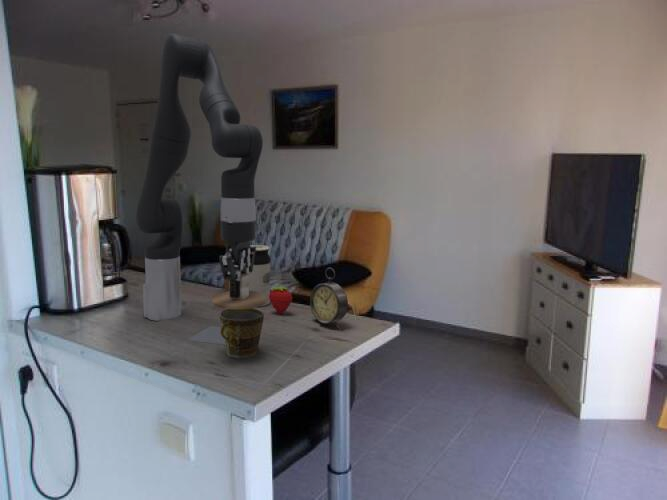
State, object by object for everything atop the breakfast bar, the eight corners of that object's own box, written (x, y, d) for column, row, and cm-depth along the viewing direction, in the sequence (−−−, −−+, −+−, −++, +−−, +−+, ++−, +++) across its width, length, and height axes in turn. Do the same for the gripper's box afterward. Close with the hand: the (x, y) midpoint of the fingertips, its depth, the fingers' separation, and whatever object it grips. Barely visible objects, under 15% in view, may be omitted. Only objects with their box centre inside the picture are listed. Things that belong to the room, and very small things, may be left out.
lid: (201, 306, 109) (200, 279, 108) (227, 292, 120) (227, 267, 119) (252, 311, 106) (252, 283, 105) (274, 297, 117) (274, 272, 116)
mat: (187, 342, 124) (187, 339, 124) (210, 328, 134) (210, 326, 134) (228, 347, 121) (228, 345, 121) (248, 333, 131) (248, 330, 131)
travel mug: (238, 303, 157) (238, 246, 154) (258, 298, 163) (258, 243, 160) (255, 308, 152) (255, 250, 149) (275, 303, 158) (275, 247, 155)
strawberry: (282, 319, 143) (282, 285, 141) (264, 314, 148) (264, 280, 146) (296, 315, 147) (297, 282, 146) (278, 309, 152) (279, 277, 150)
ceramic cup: (235, 344, 123) (235, 304, 122) (271, 351, 120) (271, 310, 118) (202, 363, 112) (202, 319, 110) (241, 371, 108) (241, 326, 106)
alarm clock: (308, 322, 141) (309, 265, 138) (321, 318, 145) (323, 263, 142) (337, 332, 134) (338, 272, 131) (350, 327, 138) (352, 269, 135)
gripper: (237, 214, 117) (237, 286, 120) (206, 220, 104) (207, 301, 107) (267, 216, 115) (266, 289, 119) (239, 223, 102) (240, 305, 105)
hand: (238, 294), depth 113 cm, fingers closed on lid, 3 cm apart
